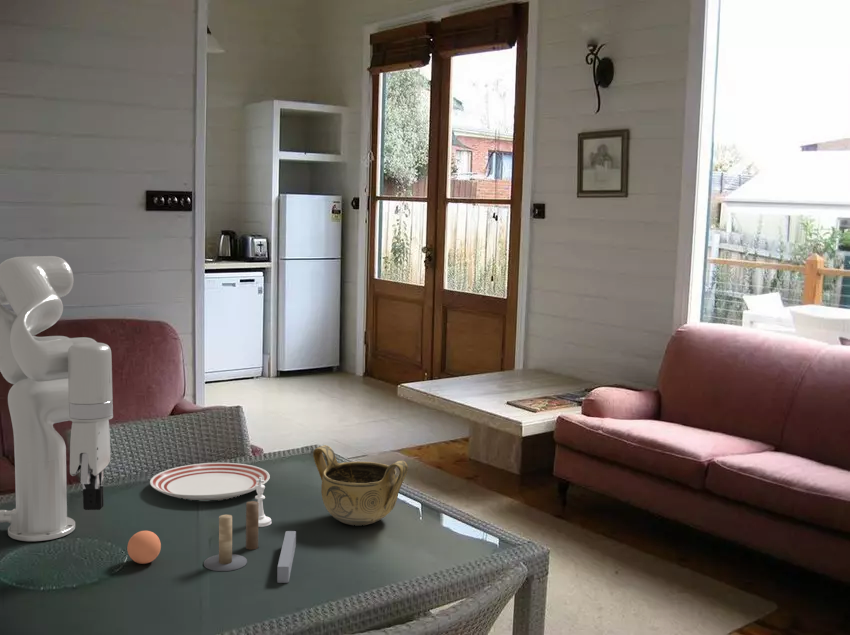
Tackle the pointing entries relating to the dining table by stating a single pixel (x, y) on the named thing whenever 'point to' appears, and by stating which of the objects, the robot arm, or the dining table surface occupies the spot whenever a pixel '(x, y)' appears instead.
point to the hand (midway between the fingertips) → (93, 508)
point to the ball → (144, 547)
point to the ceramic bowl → (358, 487)
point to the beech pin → (225, 539)
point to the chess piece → (261, 504)
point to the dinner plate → (209, 480)
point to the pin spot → (214, 564)
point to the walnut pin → (252, 524)
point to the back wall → (286, 557)
